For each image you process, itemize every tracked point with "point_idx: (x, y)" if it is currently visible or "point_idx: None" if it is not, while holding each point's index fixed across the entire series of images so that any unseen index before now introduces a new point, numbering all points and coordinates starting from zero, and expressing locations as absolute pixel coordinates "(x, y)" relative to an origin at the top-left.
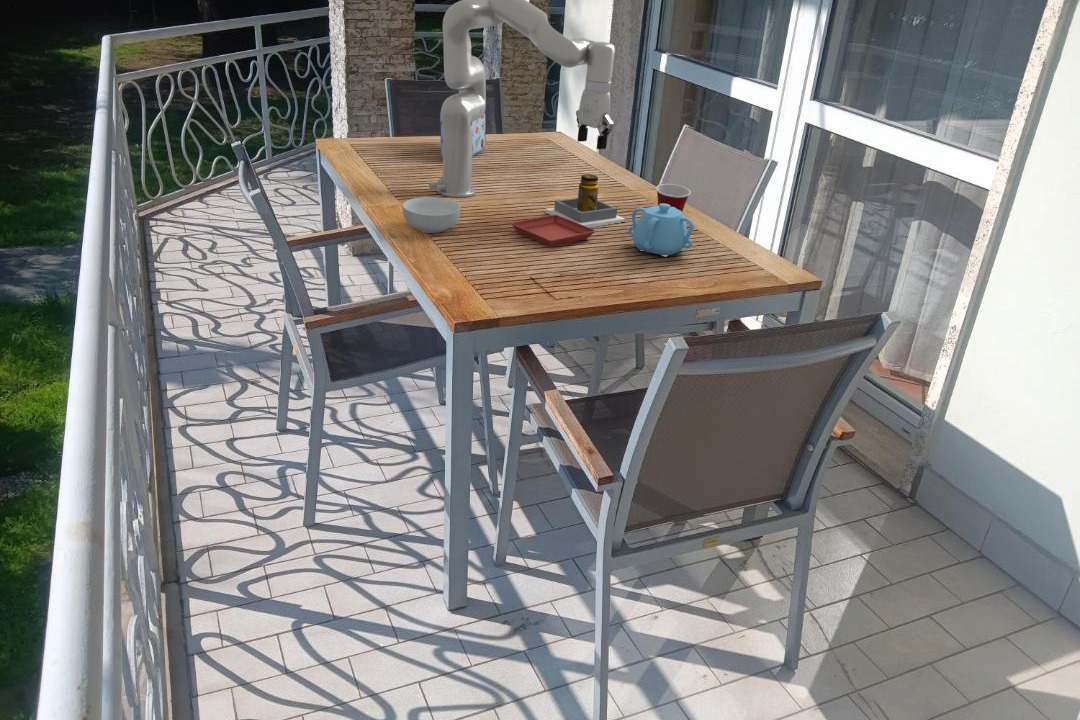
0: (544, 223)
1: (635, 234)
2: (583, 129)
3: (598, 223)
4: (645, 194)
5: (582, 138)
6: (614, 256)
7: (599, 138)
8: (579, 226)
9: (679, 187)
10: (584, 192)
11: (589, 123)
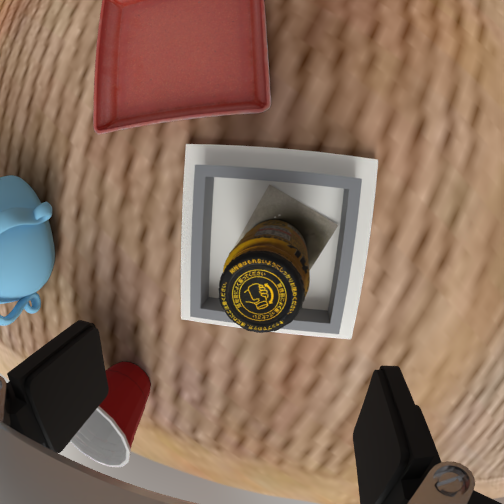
0: (257, 62)
1: (5, 178)
2: (382, 484)
3: (182, 219)
4: (336, 484)
5: (368, 413)
6: (31, 118)
7: (25, 367)
8: (153, 119)
9: (111, 461)
10: (250, 236)
11: (20, 479)
